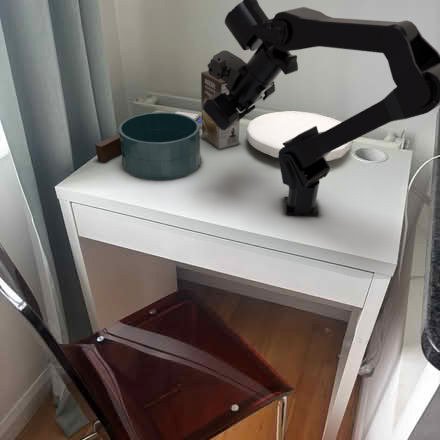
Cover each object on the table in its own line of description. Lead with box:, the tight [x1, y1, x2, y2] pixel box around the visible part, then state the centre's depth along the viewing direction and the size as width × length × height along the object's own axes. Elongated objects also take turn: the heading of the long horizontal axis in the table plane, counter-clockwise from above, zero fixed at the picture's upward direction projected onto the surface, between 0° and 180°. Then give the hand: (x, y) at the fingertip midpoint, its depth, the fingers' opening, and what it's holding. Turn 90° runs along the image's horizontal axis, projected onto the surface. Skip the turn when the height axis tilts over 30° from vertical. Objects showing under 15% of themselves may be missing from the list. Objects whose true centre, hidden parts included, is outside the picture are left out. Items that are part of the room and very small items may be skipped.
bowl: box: [118, 111, 201, 181], centre depth 105 cm, size 18×18×8 cm
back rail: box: [95, 132, 122, 164], centre depth 111 cm, size 2×16×4 cm, turn 148°
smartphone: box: [174, 110, 200, 121], centre depth 125 cm, size 7×1×15 cm
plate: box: [245, 110, 354, 162], centre depth 114 cm, size 28×6×27 cm
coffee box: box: [200, 70, 241, 150], centre depth 112 cm, size 9×6×16 cm
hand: (220, 124), depth 96 cm, fingers closed
